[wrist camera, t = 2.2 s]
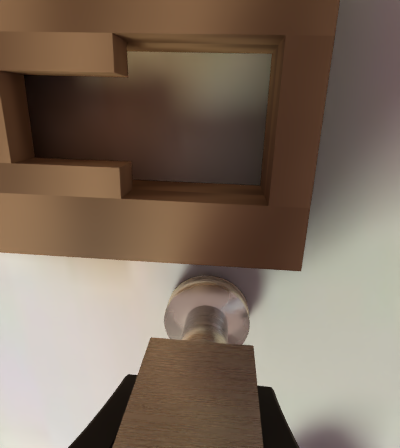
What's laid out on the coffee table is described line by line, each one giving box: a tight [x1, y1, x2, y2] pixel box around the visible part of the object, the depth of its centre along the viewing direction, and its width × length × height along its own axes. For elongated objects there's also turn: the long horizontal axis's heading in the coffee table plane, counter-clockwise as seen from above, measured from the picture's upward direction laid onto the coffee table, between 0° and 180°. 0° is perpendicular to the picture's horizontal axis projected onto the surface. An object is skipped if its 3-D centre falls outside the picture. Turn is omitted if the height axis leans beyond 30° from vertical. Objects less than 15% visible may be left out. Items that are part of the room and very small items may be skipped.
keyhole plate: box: [0, 0, 340, 271], centre depth 12 cm, size 14×10×3 cm
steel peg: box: [112, 276, 263, 448], centre depth 12 cm, size 4×4×10 cm
